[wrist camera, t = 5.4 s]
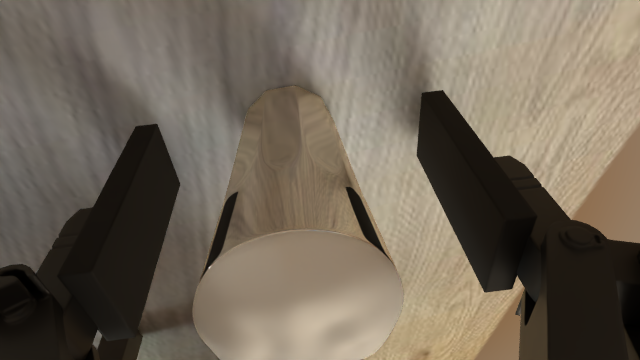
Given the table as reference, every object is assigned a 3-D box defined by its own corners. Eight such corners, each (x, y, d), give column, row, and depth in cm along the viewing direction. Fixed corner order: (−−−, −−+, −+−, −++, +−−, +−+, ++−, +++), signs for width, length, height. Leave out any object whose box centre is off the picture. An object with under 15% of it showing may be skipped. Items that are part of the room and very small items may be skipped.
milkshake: (277, 201, 17) (281, 477, 10) (201, 103, 14) (116, 393, 6) (374, 158, 16) (466, 424, 9) (316, 43, 13) (378, 296, 6)
